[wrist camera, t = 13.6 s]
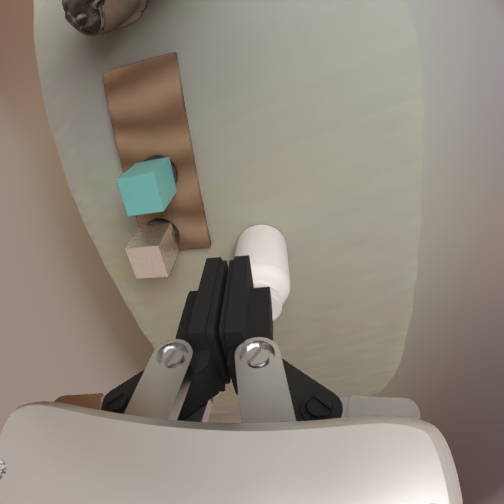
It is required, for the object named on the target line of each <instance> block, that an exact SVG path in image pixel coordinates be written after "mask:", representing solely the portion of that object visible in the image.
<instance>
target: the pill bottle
mask: <svg viewBox="0 0 504 504" xmlns="http://www.w3.org/2000/svg"><path fill="white" fill-rule="evenodd" d="M245 255H249V257H250V264H251V271H252V278H253V285H254V288H258V287H270V291H271V301H272V317H273V321H274V320H275V319H276V318H278V316H279V315H280V314H281V311H282V304H283V303H284V302H285V301H286V299H287V298H288V295H289V292H290V277H289V267H288V256H287V247H286V242H285V239H284V237H283V235H282V234H281V233H280V232H279V231H278V230H277V229H275V228H273V227H271V226H268V225H255V226H252V227H249V228H247V229H246V230H245V231H243V232H242V234H241V235H240V236H239V238H238V241H237V244H236V250H235V256H245ZM235 256H234V258H235Z"/></svg>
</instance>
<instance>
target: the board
mask: <svg viewBox="0 0 504 504" xmlns="http://www.w3.org/2000/svg"><path fill="white" fill-rule="evenodd" d="M102 74H103V80H104V86H105V91H106V96H107V102H108V107H109V112H110V116H111V121H112V126H113V130H114V135H115V139H116V143H117V148H118V152H119V156H120V160H121V164H122V168H123V171H124V173H125V172H126V171H127V170H128V169H129V168H131V167H132V166H133V165H134V164H136V163H140V162H143V161H144V160H145V159H147V158H148V157H150V156H153V155H162V156H165V157H169V158H170V160H171V161H172V162H173V163H174V164H175V166H176V168H177V171H178V180H177V183H176V189H177V192H176V193H175V195H174V197H173V198H172V200H171V201H170V203H169V204H168V206H167V207H166V209H165V210H164V211H162V212H155V213H148V214H141V215H136V217H137V221H138V224H139V227H140V226H144V225H147V223H148V222H149V221H151V220H153V219H156V218H163V219H167V220H169V221H170V222H172V223H173V224H174V225H175V226H176V227H177V229H178V231H179V235H180V239H179V243H178V245H177V246H178V249H190V248H203V247H210V246H211V240H210V236H209V231H208V226H207V221H206V216H205V212H204V207H203V202H202V197H201V191H200V186H199V181H198V176H197V171H196V165H195V160H194V155H193V149H192V144H191V138H190V133H189V127H188V121H187V115H186V109H185V103H184V97H183V91H182V85H181V78H180V72H179V65H178V59H177V53H170V54H166V55H162V56H158V57H154V58H150V59H147V60H143V61H140V62H136V63H133V64H130V65H126V66H123V67H120V68H117V69H114V70H111V71H108V72H105V73H102Z"/></svg>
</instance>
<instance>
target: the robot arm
mask: <svg viewBox="0 0 504 504" xmlns="http://www.w3.org/2000/svg"><path fill="white" fill-rule="evenodd" d="M231 379H232V382H233V386H234V389H235V392H236V394H237V395H239V405H240V414H241V423H211V422H207V421H208V417H209V414H210V411H211V408H212V404H213V397H214V396H215V395H217V394H218V393H219V391H225V384H229V383H230V380H231ZM0 504H463V502H462V495H461V490H460V485H459V480H458V476H457V471H456V468H455V464H454V461H453V458H452V455H451V452H450V449H449V447H448V445H447V443H446V440H445V439H444V437H443V435H442V434H441V433H440V431H439V430H438V429H437V428H436V427H434V426H433V425H431V424H429V423H427V422H425V421H422V420H420V412H419V408H418V406H417V405H416V404H415V402H413V401H411V400H410V399H405V398H387V397H386V398H385V397H384V398H383V397H364V396H350V397H349V398H341V397H338V396H337V395H335V394H334V393H333V392H331V391H330V390H328V389H327V388H325V387H324V386H322V385H321V384H319V383H318V382H316V381H315V380H313V379H312V378H310V377H309V376H307V375H306V374H304V373H303V372H301V371H300V370H298V369H297V368H295V367H294V366H292V365H291V364H289V363H288V362H286V361H285V360H284V359H282V357H281V353H280V349H279V347H278V345H277V344H276V343H275V342H274V341H273V317H272V301H271V291H270V287H258V288H254V285H253V278H252V271H251V264H250V257H249V255H245V256H235V258H234V260H230V262H229V268H228V265H227V261H222V259H221V257H218V258H207V259H206V263H205V266H204V270H203V274H202V277H201V281H200V285H199V289H198V291H190V292H189V294H188V296H187V300H186V303H185V307H184V310H183V314H182V317H181V321H180V324H179V328H178V331H177V335H176V339H171V340H167V341H165V342H163V343H161V344H160V345H159V346H158V347H157V348H156V349H155V351H154V352H153V354H152V356H151V358H150V360H149V362H148V364H147V366H146V368H145V370H143V371H141V372H140V373H138V374H137V375H135V376H134V377H132V378H131V379H129V380H127V381H126V382H124V383H123V384H121V385H119V386H118V387H116V388H115V389H113V390H111V391H110V392H109V393H108V394H107V395H105V396H104V395H103V394H102V393H98V394H84V395H66V396H61V397H59V398H57V399H56V400H55V401H54V402H50V401H45V402H44V401H41V402H33V403H28V404H24V405H22V406H19V407H18V408H16V409H15V410H14V411H13V412H12V413H11V415H10V416H9V418H8V419H7V421H6V423H5V425H4V427H3V429H2V431H1V434H0Z"/></svg>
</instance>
